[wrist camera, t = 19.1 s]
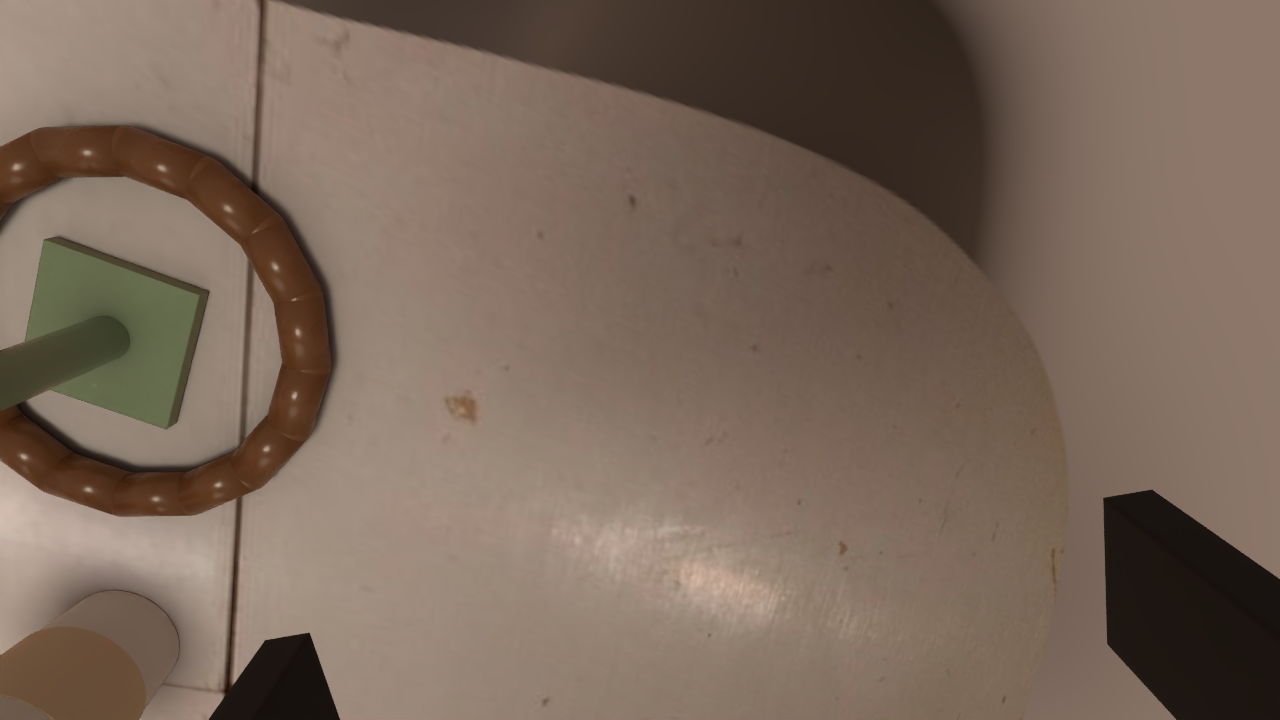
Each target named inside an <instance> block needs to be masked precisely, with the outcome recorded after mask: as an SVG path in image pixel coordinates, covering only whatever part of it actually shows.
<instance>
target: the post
mask: <svg viewBox="0 0 1280 720" xmlns="http://www.w3.org/2000/svg"><path fill="white" fill-rule="evenodd" d="M208 293H209V292H208V291H206V290H203V289H200V288H197V287H195V286H192V285H189V284H186V283H183V282H181V281H178V280H175V279H172V278H170V277H167V276H164V275H161V274H159V273H156V272H153V271H150V270H148V269H145V268H142V267H139V266H136V265H134V264H131V263H128V262H125V261H123V260H120V259H117V258H114V257H112V256H109V255H106V254H103V253H101V252H98V251H95V250H92V249H89V248H87V247H84V246H81V245H78V244H76V243H73V242H70V241H67V240H65V239H62V238H59V237H54V238H48V239H44V242H43V247H42V252H41V258H40V263H39V268H38V274H37V279H36V285H35V290H34V295H33V301H32V306H31V311H30V317H29V322H28V327H27V333H26V338H25V342H23V343H20V344H17V345H14V346H12V347H9V348H6V349H3V350H0V412H1V411H3V410H6V409H8V408H10V407H12V406H14V405H17V404H19V403H21V402H23V401H26V400H28V399H30V398H32V397H34V396H37V395H39V394H41V393H43V392H45V391H48V390H53V391H56V392H58V393H61V394H64V395H67V396H70V397H73V398H76V399H79V400H82V401H85V402H88V403H91V404H94V405H97V406H100V407H103V408H105V409H108V410H111V411H114V412H117V413H120V414H123V415H126V416H129V417H132V418H135V419H138V420H141V421H144V422H147V423H149V424H152V425H155V426H158V427H161V428H164V429H168V428H169V427H171V426H172V425H174V424H176V422H177V418H178V414H179V410H180V406H181V402H182V398H183V394H184V390H185V386H186V382H187V378H188V374H189V370H190V366H191V362H192V358H193V354H194V350H195V346H196V341H197V337H198V333H199V329H200V325H201V321H202V317H203V313H204V309H205V305H206V301H207V297H208Z"/></svg>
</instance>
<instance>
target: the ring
mask: <svg viewBox="0 0 1280 720" xmlns="http://www.w3.org/2000/svg"><path fill="white" fill-rule="evenodd" d="M123 176H125V177H128V178H131V179H133V180H136V181H139V182H141V183H144V184H147V185H149V186H152V187H155V188H157V189H160V190H162V191H165V192H168V193H170V194H173V195H176V196H178V197H181V198H184V199H186V200H188V201H189V202H191V203H192V204H193V205H194V206H195V207H197V208H198V209H199V210H200V211H201V212H202V213H204V214H205V215H206V216H207V217H208V218H209V219H211V220H212V221H213V222H214V223H215V224H216V225H218V226H219V227H220V228H221V229H222V230H224V231H225V232H226V233H227V234H228V235H229V236H231V237H232V238H233V239H234V240H235V241H236V242H238V243H239V244H240V245H241V247H242V248H243V250H244V252H245V254H246V255H247V257H248V259H249V261H250V262H251V264H252V266H253V268H254V269H255V271H256V273H257V275H258V276H259V278H260V280H261V282H262V283H263V285H264V287H265V289H266V290H267V292H268V294H269V296H270V297H271V299H272V301H273V303H274V309H275V316H276V323H277V329H278V336H279V343H280V350H281V357H282V366H281V369H280V373H279V376H278V380H277V383H276V387H275V390H274V394H273V397H272V401H271V404H270V408H269V411H268V415H267V416H266V417H265V418H264V419H263V420H262V421H261V422H260V424H259V425H258V426H257V427H256V428H255V429H254V430H253V431H252V433H251V434H250V435H249V436H248V437H247V438H246V439H245V440H244V441H243V443H242V444H241V445H240V446H239V447H238V448H237V449H236V450H235V452H233V453H230V454H228V455H226V456H223V457H221V458H219V459H216V460H214V461H212V462H209V463H207V464H205V465H202V466H200V467H198V468H195V469H193V470H191V471H188V472H150V473H131V472H128V471H125V470H122V469H119V468H116V467H113V466H110V465H107V464H104V463H101V462H99V461H96V460H93V459H90V458H87V457H84V456H81V455H78V454H75V453H73V452H72V451H71V450H69V449H68V448H67V447H65V446H64V445H63V444H61V443H60V442H59V441H57V440H56V439H55V438H53V437H52V436H51V435H49V434H48V433H47V432H45V431H44V430H43V429H41V428H40V427H39V426H37V425H36V424H35V423H33V422H32V421H31V420H29V419H28V418H27V417H25V416H24V415H23V414H22V412H21V411H20V409H19V408H18V406H17V405H14V406H12V407H10V408H8V409H6V410H3V411H1V412H0V461H2V462H3V463H4V464H6V465H7V466H8V467H10V468H11V469H13V470H14V471H15V472H17V473H18V474H19V475H21V476H22V477H24V478H25V479H26V480H28V481H29V482H30V483H32V484H33V485H34V486H36V487H37V488H39V489H40V490H41V491H43V492H46V493H48V494H51V495H54V496H57V497H60V498H63V499H66V500H69V501H72V502H75V503H78V504H81V505H85V506H88V507H91V508H94V509H97V510H100V511H103V512H106V513H109V514H112V515H115V516H120V517H135V516H191V515H197V514H200V513H203V512H205V511H207V510H210V509H212V508H214V507H217V506H219V505H222V504H224V503H226V502H229V501H231V500H233V499H236V498H238V497H241V496H243V495H245V494H248V493H250V492H252V491H255V490H257V489H259V488H261V487H263V486H264V485H265V484H266V483H267V482H268V481H269V480H270V479H271V478H272V477H273V476H274V475H275V474H276V473H277V471H278V470H279V469H280V468H281V467H282V466H283V465H284V464H285V463H286V462H287V461H288V459H289V458H290V457H291V456H292V455H293V454H294V453H295V452H296V451H297V450H298V449H299V447H300V446H301V445H302V444H303V443H304V442H305V441H306V440H307V439H308V438H309V436H310V435H311V433H312V431H313V427H314V424H315V421H316V418H317V414H318V411H319V408H320V404H321V401H322V398H323V394H324V391H325V388H326V385H327V381H328V378H329V375H330V371H331V367H332V360H331V353H330V345H329V337H328V329H327V321H326V313H325V305H324V298H323V292H322V289H321V286H320V285H319V283H318V281H317V279H316V277H315V276H314V274H313V272H312V270H311V268H310V266H309V265H308V263H307V261H306V259H305V257H304V256H303V254H302V252H301V250H300V248H299V247H298V245H297V243H296V241H295V239H294V238H293V236H292V234H291V232H290V230H289V228H288V227H287V225H286V223H285V221H284V220H283V218H282V217H281V216H280V215H279V214H278V213H277V212H276V211H275V210H273V209H272V208H271V207H270V206H269V205H268V204H267V203H265V202H264V201H263V200H262V199H261V198H260V197H259V196H257V195H256V194H255V193H254V192H253V191H252V190H251V189H249V188H248V187H247V186H246V185H245V184H244V183H242V182H241V181H240V180H239V179H238V178H237V177H236V176H234V175H233V174H232V173H231V172H230V171H229V170H228V169H226V168H225V167H224V166H223V165H222V164H221V163H219V162H218V161H217V160H215V159H214V158H212V157H209V156H207V155H204V154H202V153H199V152H196V151H194V150H191V149H189V148H186V147H183V146H181V145H178V144H176V143H173V142H170V141H168V140H165V139H163V138H160V137H157V136H155V135H152V134H150V133H147V132H144V131H142V130H139V129H137V128H133V127H129V126H83V127H44V128H39V129H36V130H34V131H32V132H29V133H27V134H25V135H23V136H21V137H19V138H17V139H15V140H13V141H11V142H9V143H7V144H5V145H3V146H1V147H0V220H1V219H2V217H3V216H4V215H5V213H6V212H7V211H8V209H9V208H10V207H11V205H12V204H13V203H14V202H15V201H17V200H19V199H21V198H23V197H25V196H27V195H29V194H31V193H33V192H35V191H38V190H40V189H42V188H44V187H46V186H48V185H50V184H52V183H54V182H56V181H58V180H60V179H62V178H65V177H123Z"/></svg>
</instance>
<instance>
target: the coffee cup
mask: <svg viewBox="0 0 1280 720" xmlns="http://www.w3.org/2000/svg"><path fill="white" fill-rule="evenodd" d="M178 655H179V639H178V635H177V632H176V629H175V627H174V625H173V623H172V621H171V620H170V619H169V617H168V616H167V615H166V614H165V612H164V611H163V610H162V609H160V608H159V607H158V606H157V605H156V604H154V603H153V602H151V601H149V600H148V599H146V598H144V597H142V596H139V595H137V594H133V593H130V592H125V591H103V592H99V593H95V594H93V595H90V596H88V597H86V598H85V599H83V600H82V601H80V602H79V603H78V604H76V605H75V606H73V607H72V608H71V609H69V610H68V611H67V612H65V613H64V614H62V615H61V616H60V617H58V618H57V619H55V620H54V621H53V622H51V623H50V624H48V625H47V626H46V627H44V628H43V629H41V630H40V631H37V632H35V633H33V634H31V635H29V636H28V637H26V638H25V639H23V640H22V641H20V642H19V643H18V644H16V645H15V646H13V647H12V648H10V649H9V650H8V651H6V652H5V653H3V654H2V655H0V720H139V719H140V717H141V715H142V713H143V710H144V709H145V707H146V706H147V705H148V703H149V702H150V700H151V699H152V697H153V696H154V695H155V693H156V692H157V690H158V689H159V687H160V686H161V685H162V683H163V682H164V680H165V679H166V677H167V676H168V675H169V673H170V672H171V670H172V669H173V667H174V666H175V664H176V661H177V659H178Z"/></svg>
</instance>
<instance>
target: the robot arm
mask: <svg viewBox="0 0 1280 720" xmlns="http://www.w3.org/2000/svg"><path fill="white" fill-rule="evenodd" d="M1103 500H1104V537H1105V538H1104V539H1105V576H1106V610H1107V611H1106V614H1107V644H1108V645H1109V646H1110V648H1112V650H1113V651H1114V652H1115V653H1116V654H1117V655H1118V656H1119V657H1120V658H1121V660H1123V662H1124V663H1125V664H1126V665H1127V666H1128V667H1129V668H1130V669H1131V670H1132V671H1133V673H1134V674H1135V675H1136V676H1137V677H1138V678H1139V679H1140V680H1141V681H1142V682H1143V683H1144V685H1145V686H1146V687H1147V688H1148V689H1149V690H1150V691H1151V692H1152V693H1153V694H1154V696H1156V698H1157V699H1158V700H1159V701H1160V702H1161V703H1162V704H1163V705H1164V706H1165V708H1167V710H1168V711H1169V712H1170V713H1171V714H1172V715H1173V716H1174V717H1175V718H1176V720H1280V579H1279V578H1277V577H1276V576H1274V575H1273V574H1272V573H1270V572H1269V571H1267V570H1266V569H1264V568H1263V567H1261V566H1260V565H1258V564H1257V563H1256V562H1254V561H1253V560H1252V559H1250V558H1249V557H1247V556H1246V555H1244V554H1243V553H1241V552H1240V551H1239V550H1237V549H1236V548H1234V547H1233V546H1232V545H1230V544H1229V543H1227V542H1226V541H1224V540H1223V539H1221V538H1220V537H1219V536H1217V535H1216V534H1214V533H1213V532H1212V531H1210V530H1209V529H1207V528H1206V527H1204V526H1203V525H1202V524H1200V523H1199V522H1197V521H1196V520H1194V519H1193V518H1192V517H1190V516H1189V515H1187V514H1186V513H1184V512H1183V511H1182V510H1180V509H1179V508H1177V507H1176V506H1174V505H1173V504H1171V503H1170V502H1169V501H1167V500H1166V499H1164V498H1163V497H1162V496H1160V495H1159V494H1157V493H1156V492H1154V491H1153V490H1148V491H1142V492H1136V493H1130V494H1124V495H1118V496H1112V497H1106V498H1103ZM209 720H340V718H339V715H338V713H337V710H336V707H335V704H334V701H333V698H332V695H331V693H330V690H329V687H328V684H327V681H326V678H325V675H324V673H323V670H322V667H321V664H320V661H319V658H318V655H317V653H316V650H315V647H314V644H313V641H312V638H311V635H310V633H305V634H299V635H293V636H288V637H282V638H276V639H270V640H265V641H264V643H263V644H262V646H261V647H260V648H259V650H258V651H257V653H256V654H255V655H254V657H253V658H252V660H251V661H250V662H249V664H248V665H247V667H246V668H245V669H244V671H243V672H242V674H241V675H240V676H239V678H238V679H237V681H236V682H235V683H234V685H233V686H232V688H231V689H230V690H229V692H228V693H227V695H226V696H225V697H224V699H223V700H222V702H221V703H220V704H219V706H218V707H217V709H216V710H215V711H214V713H213V714H212V716H211V717H210V718H209Z"/></svg>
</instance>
